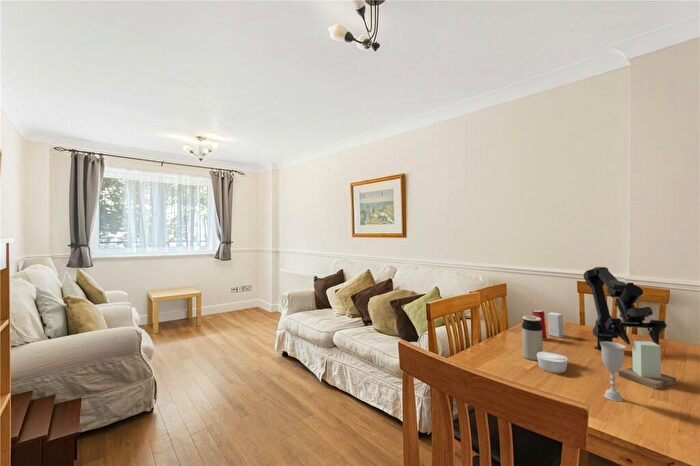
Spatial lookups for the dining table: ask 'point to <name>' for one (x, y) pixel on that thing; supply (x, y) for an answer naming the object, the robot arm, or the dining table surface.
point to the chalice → (612, 365)
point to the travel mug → (531, 337)
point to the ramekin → (552, 362)
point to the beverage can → (541, 315)
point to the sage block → (646, 358)
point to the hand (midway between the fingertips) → (643, 345)
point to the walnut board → (647, 379)
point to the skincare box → (555, 324)
